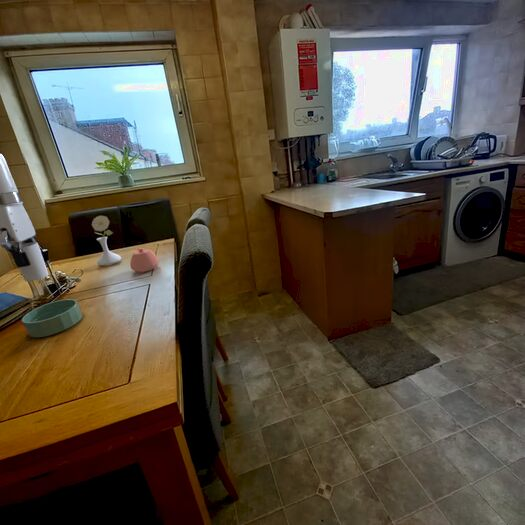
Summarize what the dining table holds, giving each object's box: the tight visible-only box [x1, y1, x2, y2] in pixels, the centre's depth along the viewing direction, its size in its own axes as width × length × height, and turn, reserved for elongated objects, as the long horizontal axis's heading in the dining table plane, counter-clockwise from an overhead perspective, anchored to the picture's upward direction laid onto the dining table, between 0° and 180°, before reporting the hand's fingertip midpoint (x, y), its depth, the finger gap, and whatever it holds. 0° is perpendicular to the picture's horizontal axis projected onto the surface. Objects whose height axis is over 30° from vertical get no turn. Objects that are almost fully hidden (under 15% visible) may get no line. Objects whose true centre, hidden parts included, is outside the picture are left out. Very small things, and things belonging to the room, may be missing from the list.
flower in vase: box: [91, 215, 122, 267], centre depth 140 cm, size 13×11×25 cm
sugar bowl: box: [129, 247, 160, 274], centre depth 127 cm, size 12×14×10 cm
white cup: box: [15, 241, 49, 282], centre depth 81 cm, size 7×7×10 cm
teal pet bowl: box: [21, 298, 83, 338], centre depth 87 cm, size 14×14×6 cm
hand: (30, 262), depth 81 cm, fingers closed on white cup, 5 cm apart
